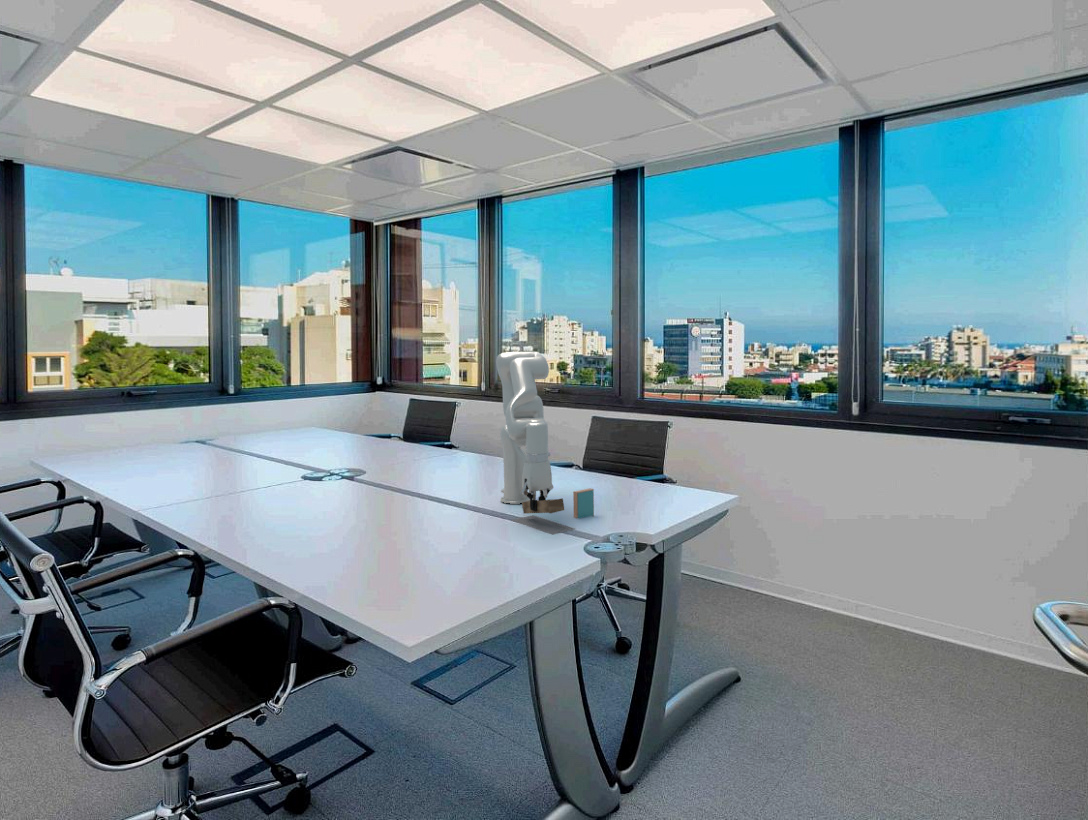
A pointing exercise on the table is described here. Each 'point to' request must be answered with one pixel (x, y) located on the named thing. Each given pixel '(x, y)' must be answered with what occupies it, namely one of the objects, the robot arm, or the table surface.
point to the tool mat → (543, 524)
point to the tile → (583, 503)
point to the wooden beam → (544, 506)
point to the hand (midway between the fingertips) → (537, 509)
